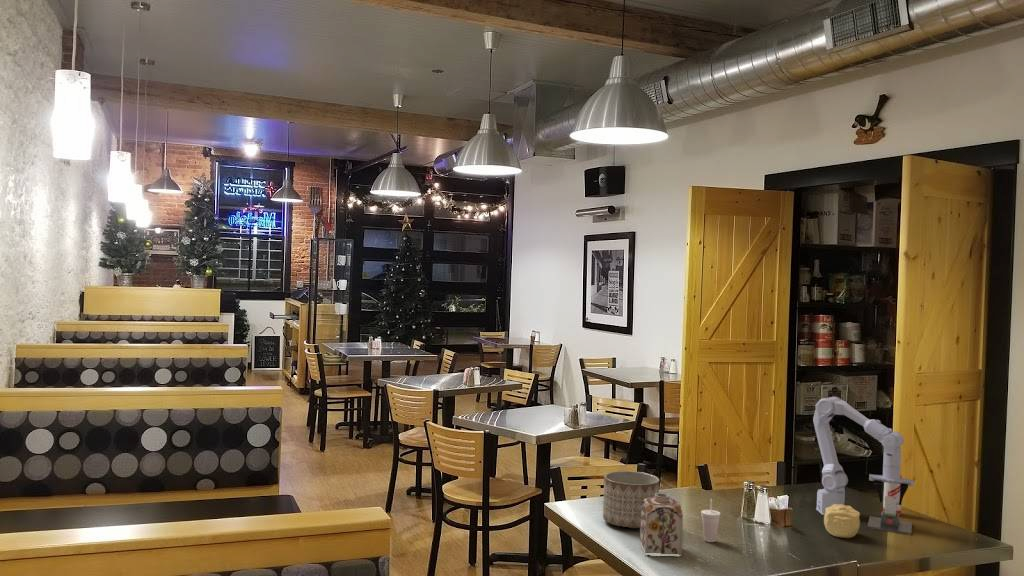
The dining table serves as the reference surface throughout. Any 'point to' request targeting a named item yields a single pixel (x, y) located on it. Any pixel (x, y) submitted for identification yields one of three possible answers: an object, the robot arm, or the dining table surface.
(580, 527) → the dining table surface
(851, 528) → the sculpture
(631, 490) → the planter
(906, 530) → the grey square base
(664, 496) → the decorative jar
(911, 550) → the dining table surface
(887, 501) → the block
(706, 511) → the smoothie
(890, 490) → the beer can
